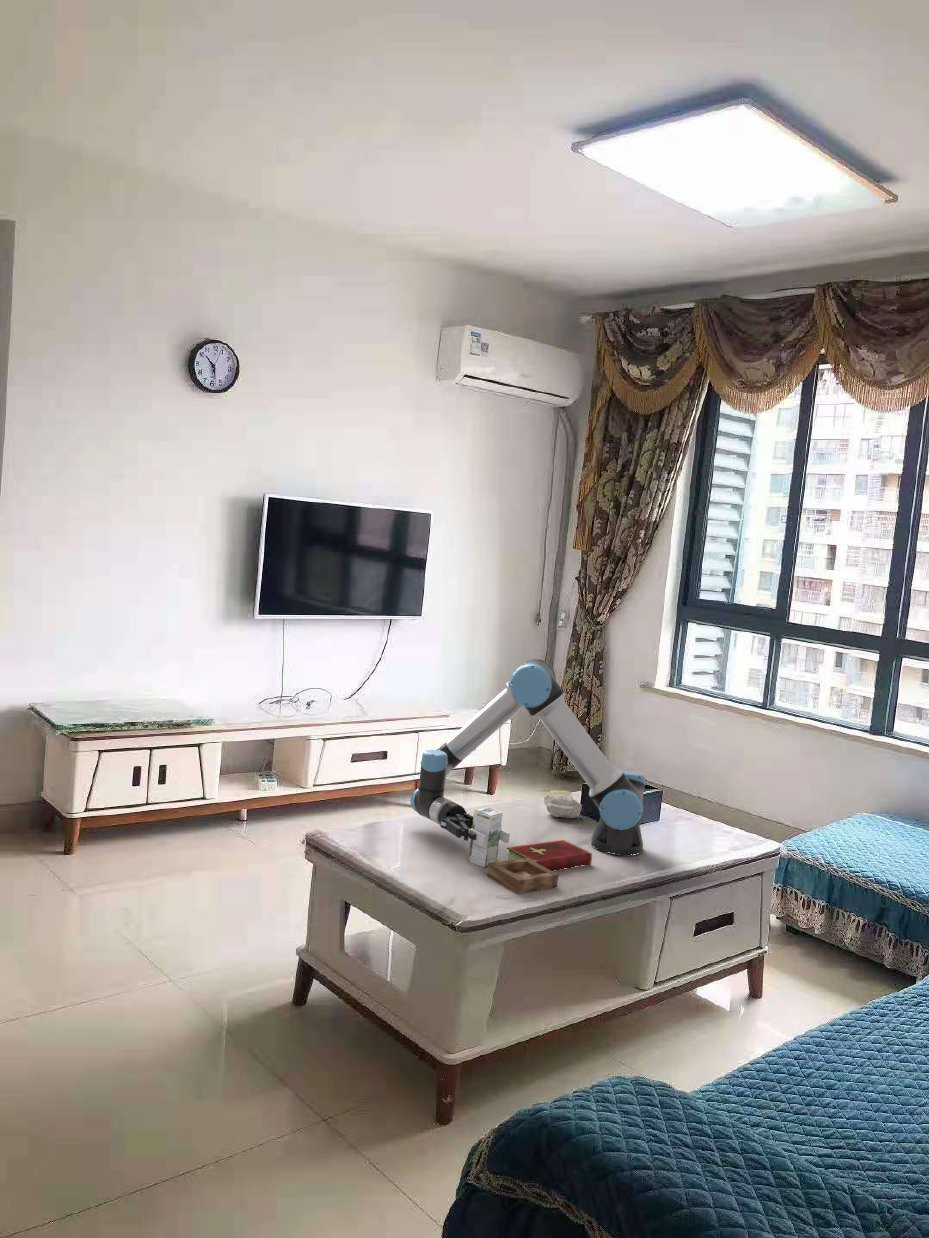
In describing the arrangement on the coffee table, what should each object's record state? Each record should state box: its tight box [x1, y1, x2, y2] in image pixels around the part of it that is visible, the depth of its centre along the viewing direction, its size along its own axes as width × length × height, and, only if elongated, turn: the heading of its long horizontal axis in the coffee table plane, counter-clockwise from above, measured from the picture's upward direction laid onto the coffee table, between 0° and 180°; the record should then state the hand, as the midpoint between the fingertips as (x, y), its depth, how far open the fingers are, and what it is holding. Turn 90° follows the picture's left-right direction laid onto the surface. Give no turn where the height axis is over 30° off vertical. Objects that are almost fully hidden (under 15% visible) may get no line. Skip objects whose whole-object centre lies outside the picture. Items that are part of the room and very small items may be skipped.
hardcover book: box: [506, 839, 593, 872], centre depth 283 cm, size 12×21×4 cm, turn 126°
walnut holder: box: [486, 858, 560, 895], centre depth 265 cm, size 13×13×4 cm
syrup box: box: [467, 806, 503, 868], centre depth 276 cm, size 6×6×14 cm
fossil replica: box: [543, 789, 583, 819], centre depth 330 cm, size 12×8×10 cm
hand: (496, 839), depth 272 cm, fingers closed on syrup box, 7 cm apart
